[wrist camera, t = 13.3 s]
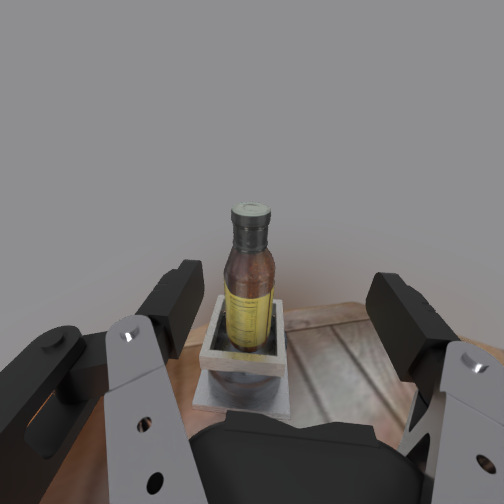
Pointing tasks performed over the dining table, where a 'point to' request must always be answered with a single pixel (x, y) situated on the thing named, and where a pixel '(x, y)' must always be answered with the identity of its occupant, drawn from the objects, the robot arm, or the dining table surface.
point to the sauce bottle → (249, 278)
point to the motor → (243, 370)
